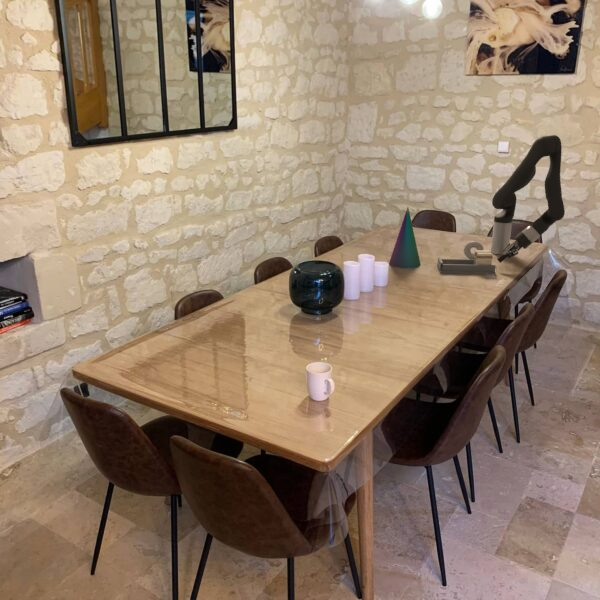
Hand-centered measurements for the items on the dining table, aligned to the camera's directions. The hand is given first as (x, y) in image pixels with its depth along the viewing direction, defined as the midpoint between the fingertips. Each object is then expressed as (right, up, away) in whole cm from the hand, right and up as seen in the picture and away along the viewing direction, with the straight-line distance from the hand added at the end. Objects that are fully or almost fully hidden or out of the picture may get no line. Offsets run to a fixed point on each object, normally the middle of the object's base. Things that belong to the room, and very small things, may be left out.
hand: (498, 260), depth 287 cm
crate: (-7, -3, +2) cm, 8 cm away
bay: (-15, -4, +3) cm, 16 cm away
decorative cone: (-43, -1, +14) cm, 46 cm away
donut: (-7, +2, +20) cm, 21 cm away
